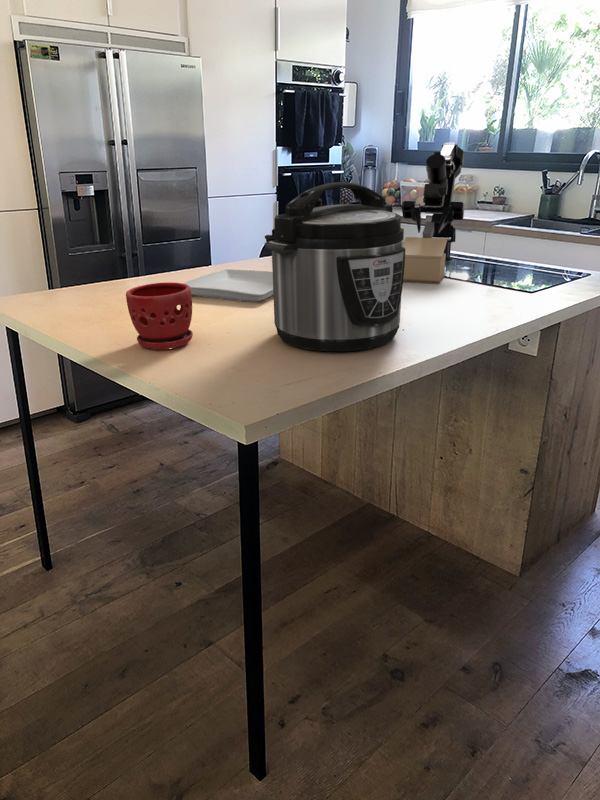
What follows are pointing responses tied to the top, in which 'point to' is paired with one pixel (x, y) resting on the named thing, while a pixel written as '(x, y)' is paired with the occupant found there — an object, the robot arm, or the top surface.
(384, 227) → the pressure cooker
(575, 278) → the top surface
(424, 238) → the lid
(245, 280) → the square plate
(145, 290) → the plant pot
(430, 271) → the carton
